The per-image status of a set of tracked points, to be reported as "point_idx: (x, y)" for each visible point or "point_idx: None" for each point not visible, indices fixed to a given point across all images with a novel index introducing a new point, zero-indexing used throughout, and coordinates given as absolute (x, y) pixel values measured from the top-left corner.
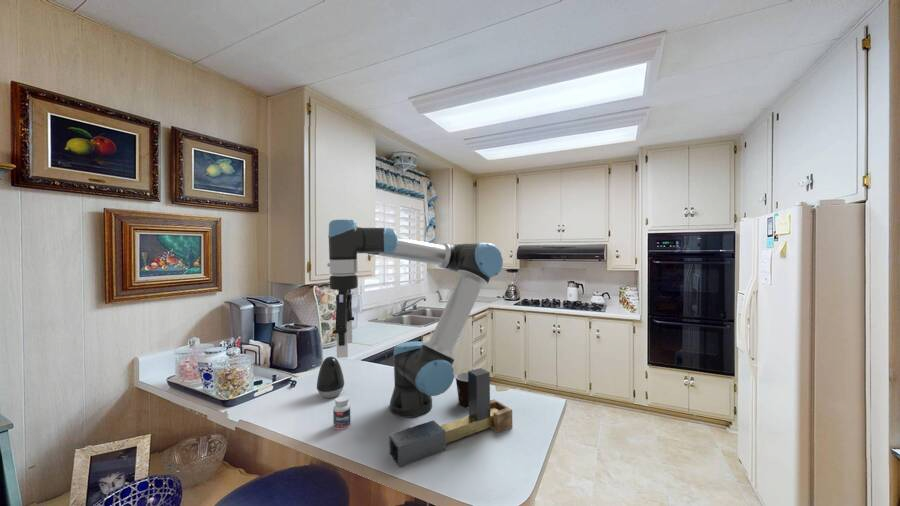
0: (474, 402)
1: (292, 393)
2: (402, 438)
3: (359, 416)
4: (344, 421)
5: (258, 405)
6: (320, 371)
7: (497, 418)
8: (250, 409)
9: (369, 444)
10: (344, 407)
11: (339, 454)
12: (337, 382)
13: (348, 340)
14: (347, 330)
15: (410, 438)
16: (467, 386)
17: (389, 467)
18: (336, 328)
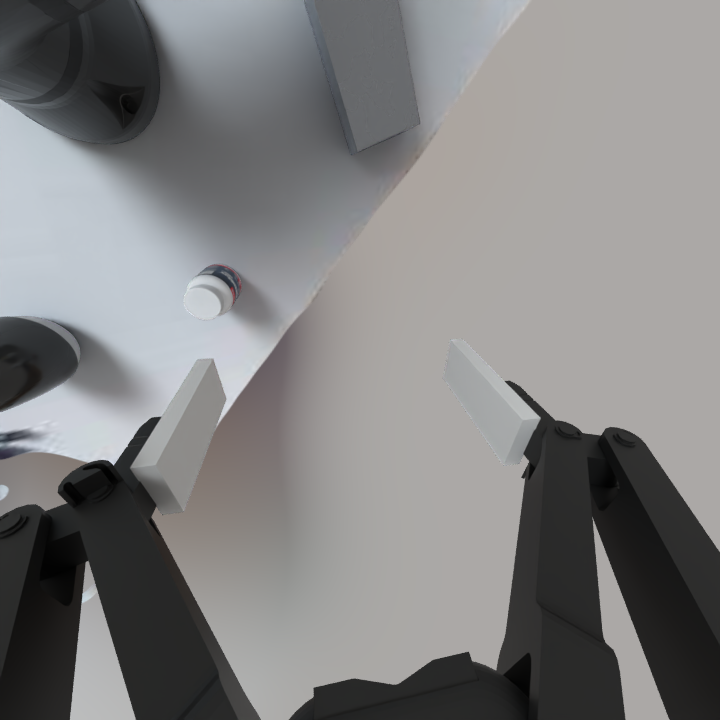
0: None
1: (68, 421)
2: (386, 108)
3: (169, 245)
4: (234, 279)
5: None
6: (20, 403)
7: None
8: None
9: (305, 208)
10: (220, 289)
11: (332, 270)
12: (32, 338)
13: (213, 384)
14: (195, 432)
15: (391, 79)
16: None
17: (396, 157)
18: (618, 486)
